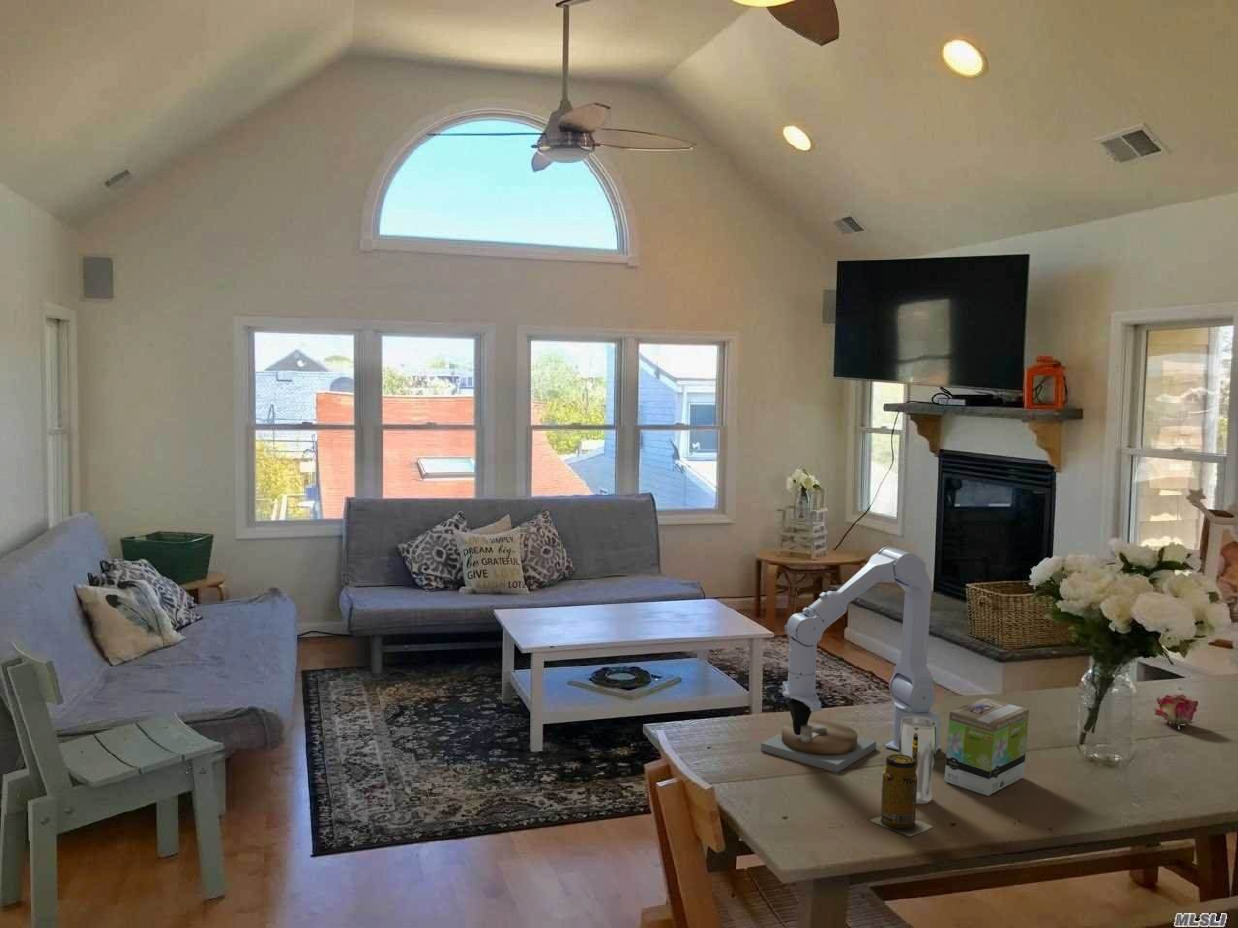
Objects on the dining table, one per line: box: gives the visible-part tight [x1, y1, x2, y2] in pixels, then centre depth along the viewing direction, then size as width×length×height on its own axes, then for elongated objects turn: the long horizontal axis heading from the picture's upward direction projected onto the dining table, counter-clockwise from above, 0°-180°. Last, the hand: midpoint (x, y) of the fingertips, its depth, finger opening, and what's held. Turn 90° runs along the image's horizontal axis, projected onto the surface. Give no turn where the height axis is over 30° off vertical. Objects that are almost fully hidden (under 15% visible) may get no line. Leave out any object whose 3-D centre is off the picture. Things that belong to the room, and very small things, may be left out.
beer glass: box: [898, 716, 937, 805], centre depth 197 cm, size 7×7×15 cm
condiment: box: [870, 753, 934, 837], centre depth 186 cm, size 7×8×12 cm
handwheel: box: [781, 719, 859, 755], centre depth 222 cm, size 16×16×5 cm
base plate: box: [760, 732, 877, 774], centre depth 222 cm, size 18×18×2 cm
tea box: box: [943, 697, 1030, 797], centre depth 207 cm, size 15×10×15 cm, turn 134°
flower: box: [1153, 694, 1199, 727], centre depth 242 cm, size 10×9×8 cm
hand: (799, 733), depth 218 cm, fingers closed, pressing on handwheel
